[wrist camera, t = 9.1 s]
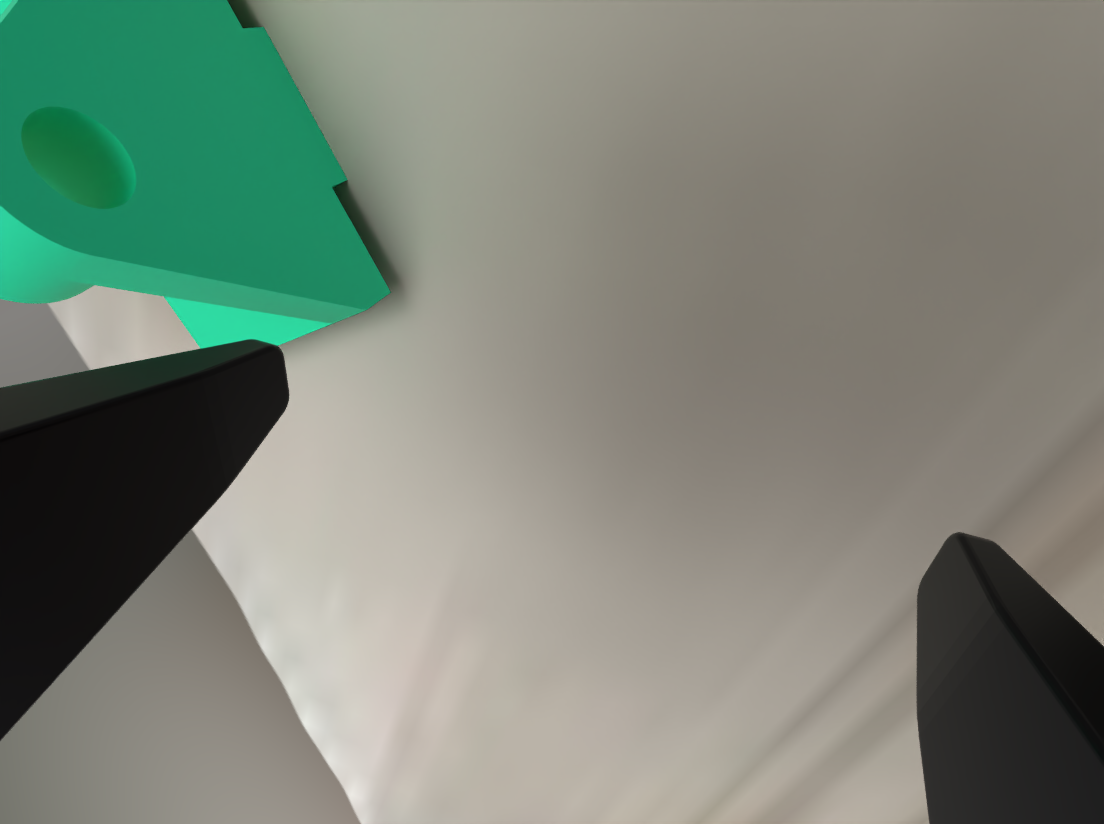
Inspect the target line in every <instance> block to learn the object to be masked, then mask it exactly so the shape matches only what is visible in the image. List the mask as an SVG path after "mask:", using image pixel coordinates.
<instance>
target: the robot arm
mask: <svg viewBox="0 0 1104 824" xmlns="http://www.w3.org/2000/svg"><path fill="white" fill-rule="evenodd" d="M288 401H289V388H288V381H287V374H286V367H285V360H284V355H283V352H282V350H281V349H280V348H279V347H278V346H277V345H274V344H270V343H267V342H263V341H259V340H256V339H248V340H243V341H238V342H233V343H227V344H222V345H217V346H212V347H207V348H202V349H197V350H192V351H186V352H181V353H176V354H171V355H166V356H161V357H156V358H150V359H145V360H140V361H135V362H130V363H125V364H120V365H115V366H109V367H104V368H99V369H94V370H89V371H84V372H79V373H74V374H68V375H64V376H58V377H53V378H48V379H43V380H38V381H32V382H27V383H22V384H17V385H12V386H7V387H2V388H0V741H1V740H2V739H3V738H4V736H5V735H6V734H7V733H8V732H9V731H10V730H11V729H12V728H13V727H14V725H15V724H16V723H17V722H18V721H19V720H20V719H21V718H22V717H23V715H24V714H25V713H26V712H27V711H28V710H29V709H30V708H31V707H32V705H33V704H34V703H35V702H36V701H37V700H38V699H39V698H40V697H41V695H42V694H43V693H44V692H45V691H46V690H47V689H48V688H49V686H50V685H51V684H52V683H53V682H54V681H55V680H56V679H57V678H58V677H59V675H60V674H61V673H62V672H63V671H64V670H65V669H66V668H67V666H68V665H69V664H70V663H71V662H72V661H73V660H74V659H75V658H76V657H77V655H78V654H79V653H80V652H81V651H82V650H83V649H84V648H85V647H86V645H87V644H88V643H89V642H90V641H91V640H92V639H93V638H94V637H95V636H96V634H97V633H98V632H99V631H100V630H101V629H102V628H103V627H104V626H105V625H106V623H107V622H108V621H109V620H110V619H111V618H112V617H113V616H114V615H115V613H116V612H117V611H118V610H119V609H120V608H121V606H123V605H124V603H125V602H126V601H127V600H128V599H129V598H130V597H131V596H132V595H133V593H134V592H135V591H136V590H137V589H138V588H139V587H140V586H141V585H142V583H143V582H144V581H145V580H146V579H147V578H148V577H149V576H150V575H151V574H152V572H153V571H154V570H155V569H156V568H157V567H158V566H159V565H160V564H161V562H162V561H163V560H164V559H165V558H166V557H167V556H168V555H169V554H170V552H171V551H172V550H173V549H174V548H175V547H176V546H177V545H178V543H179V542H180V541H181V540H182V539H183V538H184V537H185V536H186V535H187V534H188V532H189V531H190V530H191V529H192V528H193V527H194V526H195V525H196V524H197V523H198V521H199V520H200V519H201V518H202V517H203V516H204V515H205V514H206V513H207V511H208V510H209V509H210V508H211V507H212V506H213V505H214V504H215V503H216V501H217V500H218V499H219V498H220V497H221V496H222V494H223V493H224V492H225V491H226V490H227V489H228V487H229V486H230V485H231V483H232V482H233V481H234V480H235V478H236V477H237V476H238V474H239V473H240V472H241V470H242V469H243V468H244V466H245V465H246V463H247V462H248V461H249V459H250V458H251V457H252V455H253V454H254V452H255V451H256V450H257V448H258V447H259V446H260V444H261V443H262V442H263V440H264V439H265V437H266V436H267V435H268V433H269V432H270V431H271V429H272V428H273V426H274V425H275V424H276V422H277V421H278V420H279V418H280V417H281V416H282V414H283V413H284V411H285V409H286V407H287V405H288ZM917 720H918V731H919V741H920V749H921V757H922V766H923V774H924V782H925V791H926V799H927V807H928V815H929V824H1104V646H1103V645H1102V644H1101V643H1100V642H1099V641H1098V640H1097V639H1095V638H1094V637H1093V636H1092V635H1091V634H1090V633H1089V632H1088V631H1087V630H1086V629H1085V628H1084V627H1083V626H1082V625H1081V624H1080V623H1079V622H1078V621H1077V620H1076V619H1075V618H1074V617H1073V616H1072V615H1071V614H1069V613H1068V612H1067V611H1066V610H1065V609H1064V608H1063V607H1062V606H1061V605H1060V604H1059V603H1058V602H1057V601H1056V600H1055V599H1054V598H1053V597H1052V596H1051V595H1050V594H1049V593H1048V592H1047V591H1046V590H1044V589H1043V588H1042V587H1041V586H1040V585H1039V584H1038V583H1037V582H1036V581H1035V580H1034V579H1033V578H1032V577H1031V576H1030V575H1029V574H1028V573H1027V572H1026V571H1025V570H1024V569H1023V568H1022V567H1021V566H1019V565H1018V564H1017V563H1016V562H1015V561H1014V560H1013V559H1012V558H1011V557H1010V556H1009V555H1008V554H1007V553H1006V552H1005V551H1004V550H1003V549H1002V548H1001V547H1000V546H999V545H997V544H996V543H995V542H993V541H991V540H988V539H984V538H980V537H977V536H973V535H969V534H965V533H962V532H958V533H954V534H952V535H951V536H949V537H948V538H947V540H946V541H945V543H944V544H943V546H942V547H941V549H940V551H939V552H938V554H937V555H936V557H935V559H934V560H933V562H932V563H931V565H930V567H929V568H928V570H927V571H926V573H925V575H924V576H923V578H922V580H921V582H920V585H919V589H918V594H917Z"/></svg>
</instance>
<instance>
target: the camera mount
mask: <svg viewBox="0 0 1104 824" xmlns="http://www.w3.org/2000/svg"><path fill="white" fill-rule="evenodd" d="M346 180H347V178H346V176H345V174H344V172H343V171H342V169H341V167H340V165H339V163H338V161H337V160H336V158H335V156H334V154H333V152H332V150H331V149H330V147H329V145H328V143H327V141H326V140H325V138H324V136H323V134H322V132H321V130H320V129H319V127H318V125H317V123H316V121H315V119H314V118H313V116H312V114H311V112H310V110H309V109H308V107H307V105H306V103H305V101H304V99H303V98H302V96H301V94H300V92H299V90H298V88H297V87H296V85H295V83H294V81H293V79H292V78H291V76H290V74H289V72H288V70H287V68H286V67H285V65H284V63H283V61H282V59H281V58H280V56H279V54H278V52H277V50H276V48H275V47H274V45H273V43H272V41H271V39H270V37H269V36H268V34H267V32H266V30H265V28H264V27H256V28H242V26H241V24H240V22H239V21H238V19H237V17H236V15H235V14H234V12H233V10H232V8H231V6H230V5H229V3H228V1H227V0H0V299H4V300H8V301H13V302H21V303H37V304H38V303H51V302H57V301H62V300H65V299H69V298H71V297H74V296H76V295H78V294H80V293H82V292H84V291H85V290H87V289H89V288H90V287H92V286H94V285H98V286H104V287H110V288H116V289H122V290H128V291H134V292H141V293H147V294H153V295H159V296H164V297H165V299H166V300H167V302H168V303H169V304H170V306H171V307H172V309H173V310H174V312H175V313H176V314H177V316H178V317H179V319H180V320H181V321H182V323H183V324H184V326H185V327H186V329H187V330H188V331H189V333H190V334H191V336H192V337H193V338H194V340H195V341H196V343H197V344H198V345H199V347H200V348H201V349H202V348H207V347H212V346H217V345H222V344H227V343H233V342H238V341H243V340H248V339H256V340H259V341H263V342H267V343H270V344H274V345H277V346H278V345H281V344H283V343H286V342H288V341H291V340H293V339H296V338H298V337H301V336H303V335H306V334H308V333H311V332H313V331H316V330H318V329H321V328H323V327H326V326H328V325H331V324H333V323H336V322H338V321H341V320H343V319H346V318H348V317H351V316H353V315H356V314H358V313H361V312H363V311H366V310H367V309H369V308H370V307H372V306H373V305H374V304H376V303H377V302H378V301H380V300H381V299H383V298H384V297H385V296H387V295H388V294H390V293H391V292H390V290H389V288H388V286H387V284H386V283H385V281H384V279H383V277H382V276H381V274H380V272H379V270H378V268H377V267H376V265H375V263H374V261H373V260H372V258H371V256H370V254H369V252H368V251H367V249H366V247H365V245H364V243H363V242H362V240H361V238H360V236H359V235H358V233H357V231H356V229H355V227H354V226H353V224H352V222H351V220H350V219H349V217H348V215H347V213H346V211H345V210H344V208H343V206H342V204H341V202H340V201H339V199H338V197H337V195H336V194H335V192H334V190H333V187H335V186H337V185H339V184H341V183H343V182H345V181H346Z"/></svg>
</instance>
